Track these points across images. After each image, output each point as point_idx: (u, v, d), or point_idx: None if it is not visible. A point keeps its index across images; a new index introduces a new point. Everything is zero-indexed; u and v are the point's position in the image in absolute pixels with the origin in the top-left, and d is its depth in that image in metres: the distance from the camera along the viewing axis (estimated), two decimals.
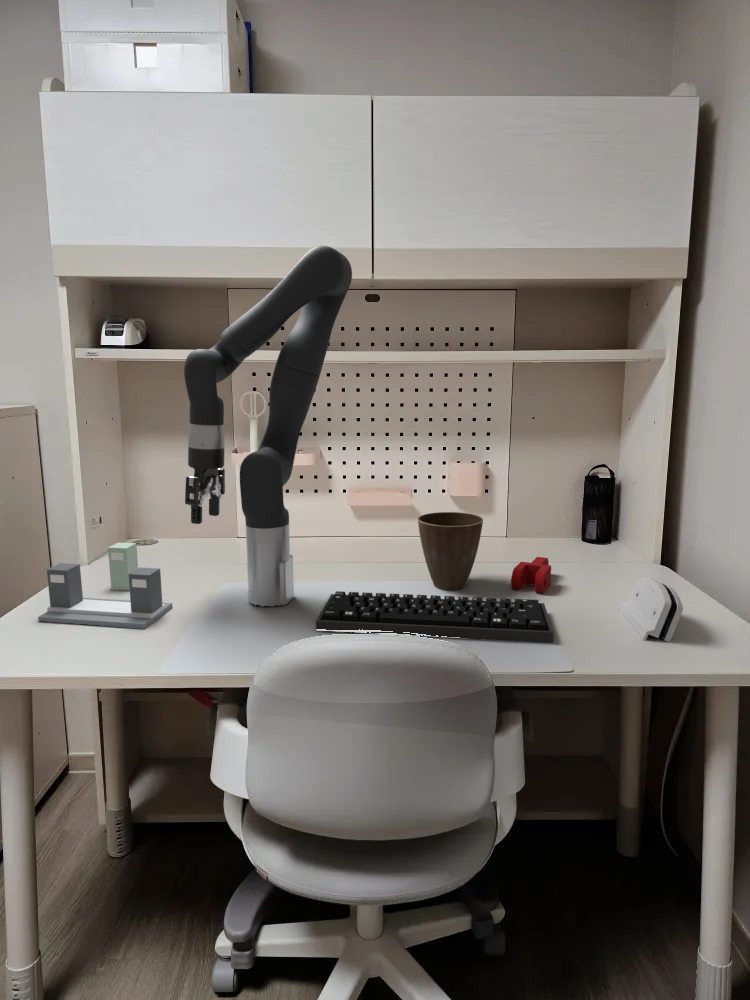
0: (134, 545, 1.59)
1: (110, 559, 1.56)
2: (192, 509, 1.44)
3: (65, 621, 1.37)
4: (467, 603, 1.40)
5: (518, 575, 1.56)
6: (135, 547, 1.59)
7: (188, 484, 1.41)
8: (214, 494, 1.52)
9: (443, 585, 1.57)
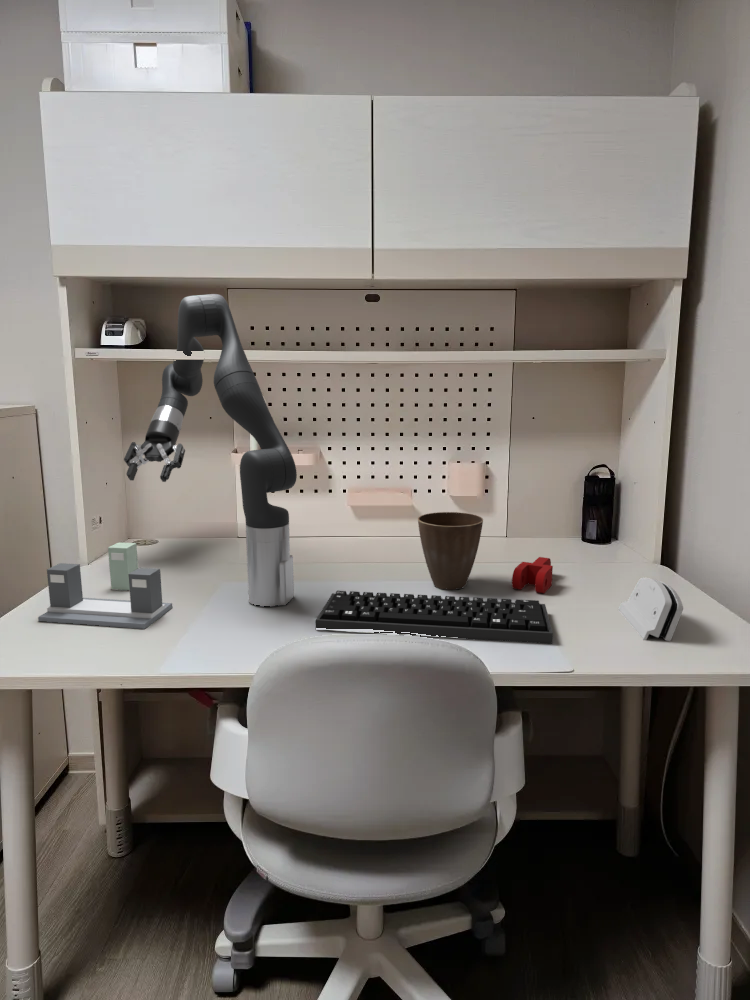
0: (134, 545, 1.59)
1: (110, 559, 1.56)
2: None
3: (65, 621, 1.37)
4: (467, 603, 1.39)
5: (519, 575, 1.56)
6: (135, 547, 1.59)
7: None
8: None
9: (443, 585, 1.57)
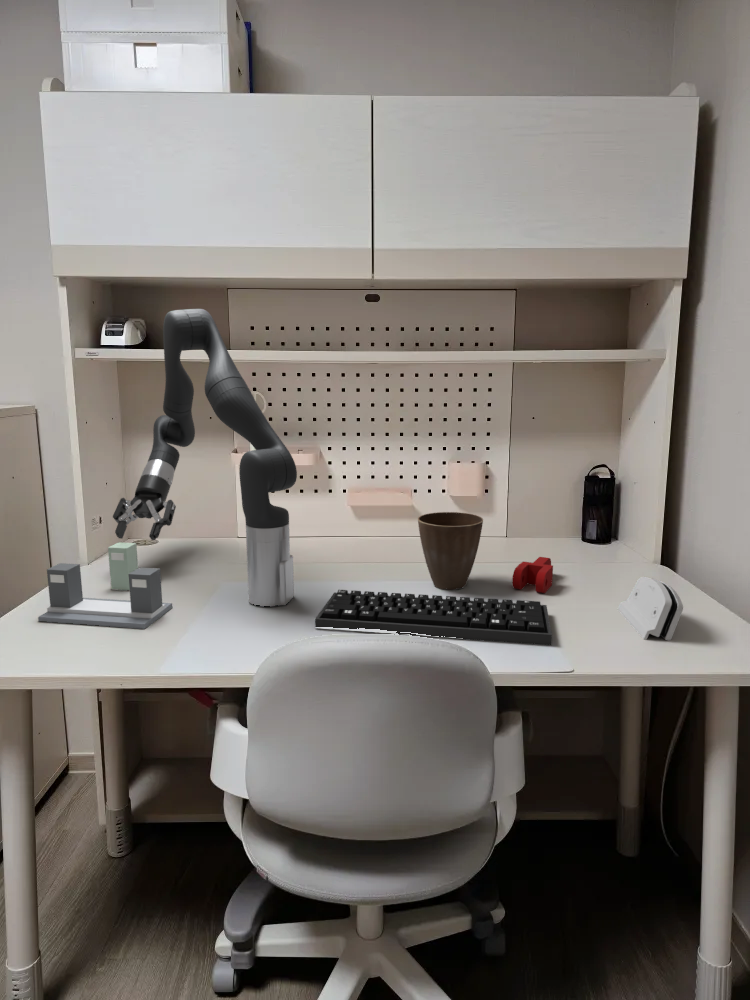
0: (134, 545, 1.59)
1: (110, 559, 1.56)
2: None
3: (65, 621, 1.37)
4: (468, 604, 1.39)
5: (519, 575, 1.56)
6: (135, 547, 1.59)
7: None
8: None
9: (443, 585, 1.57)
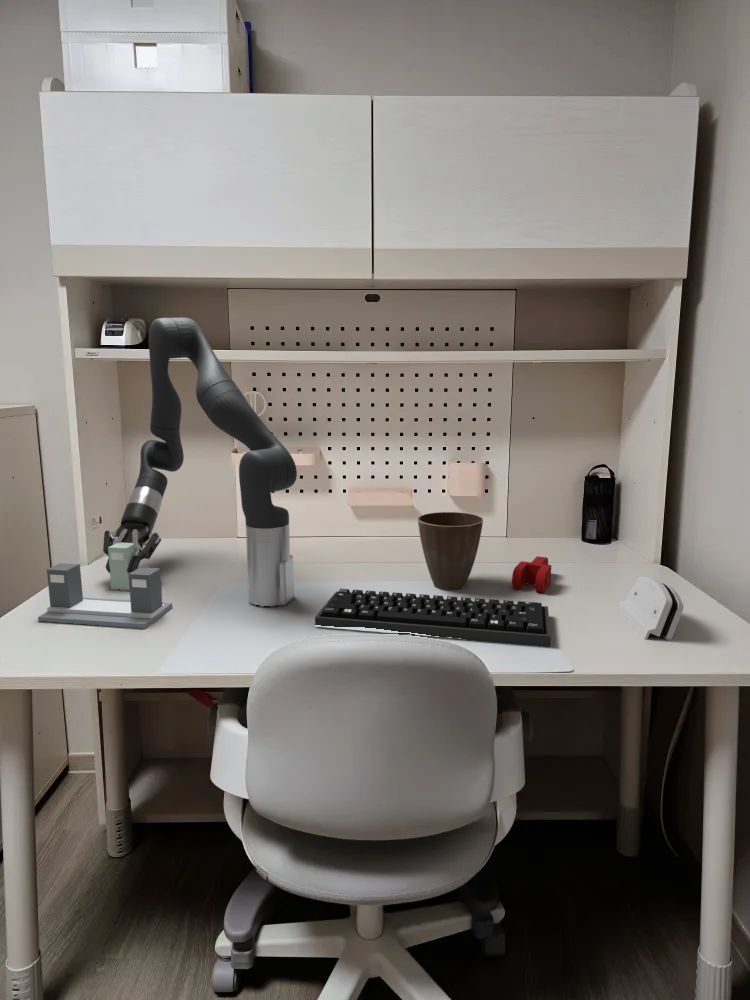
0: None
1: (110, 559, 1.56)
2: None
3: (65, 621, 1.37)
4: (468, 604, 1.39)
5: (519, 575, 1.56)
6: None
7: None
8: None
9: (443, 585, 1.57)
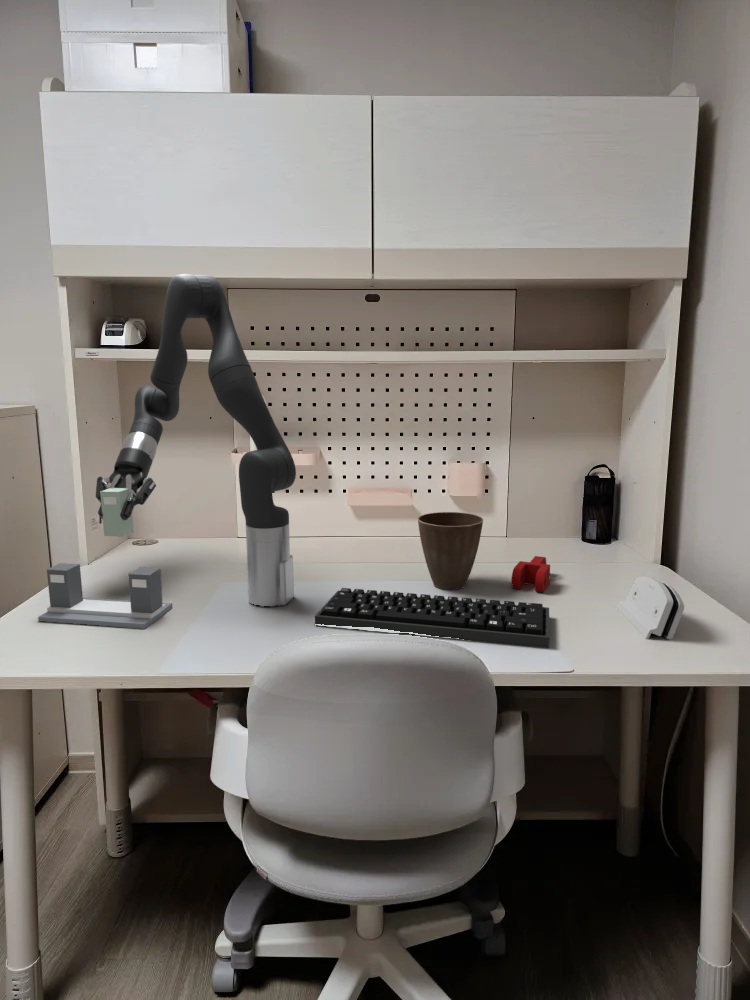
0: None
1: (103, 504, 1.50)
2: None
3: (65, 621, 1.37)
4: (468, 604, 1.39)
5: (518, 575, 1.56)
6: None
7: None
8: None
9: (443, 585, 1.57)
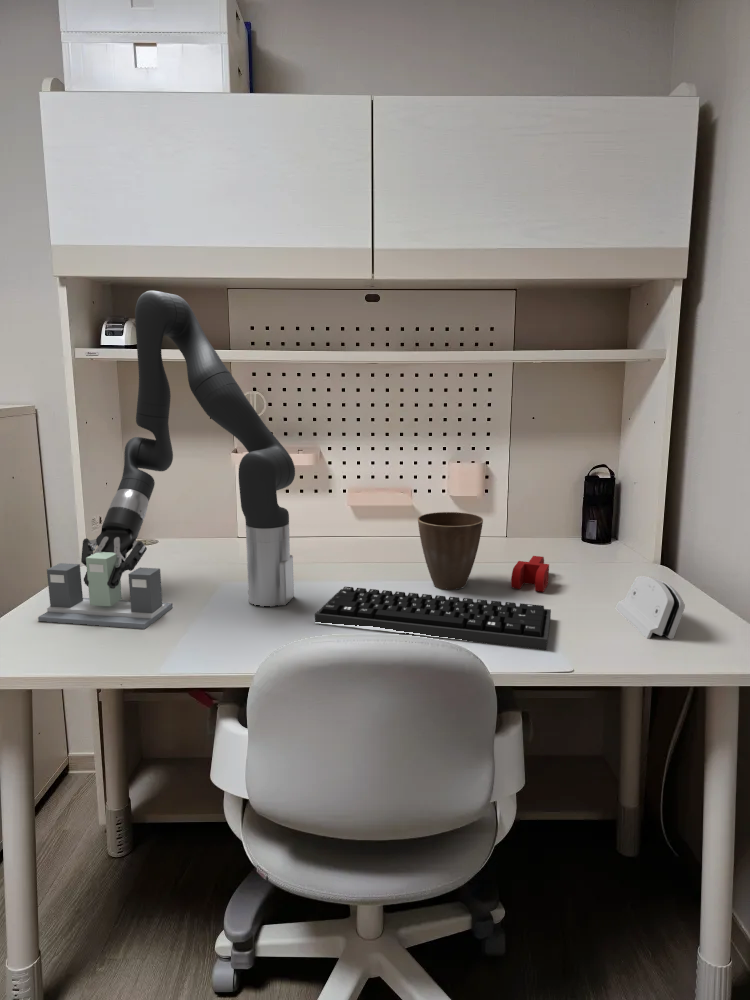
0: None
1: (88, 571, 1.38)
2: None
3: (65, 621, 1.37)
4: (469, 605, 1.39)
5: (518, 574, 1.56)
6: None
7: None
8: None
9: (443, 585, 1.57)
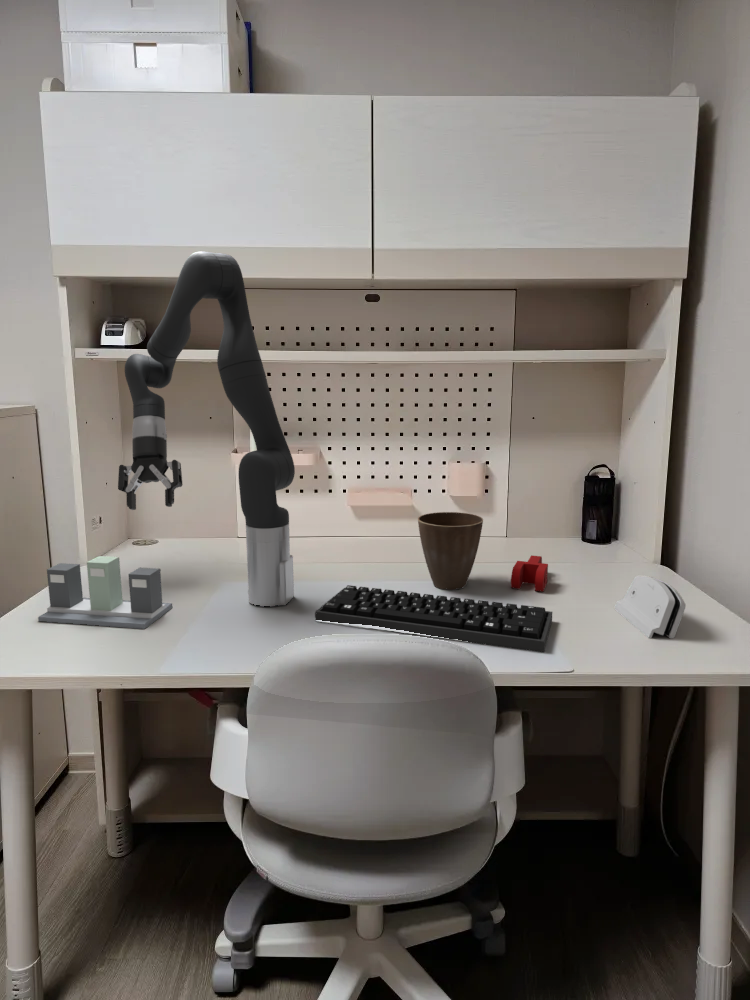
0: (117, 559, 1.41)
1: (89, 575, 1.39)
2: None
3: (65, 621, 1.37)
4: (469, 606, 1.38)
5: (518, 574, 1.56)
6: (118, 561, 1.41)
7: None
8: None
9: (443, 585, 1.57)
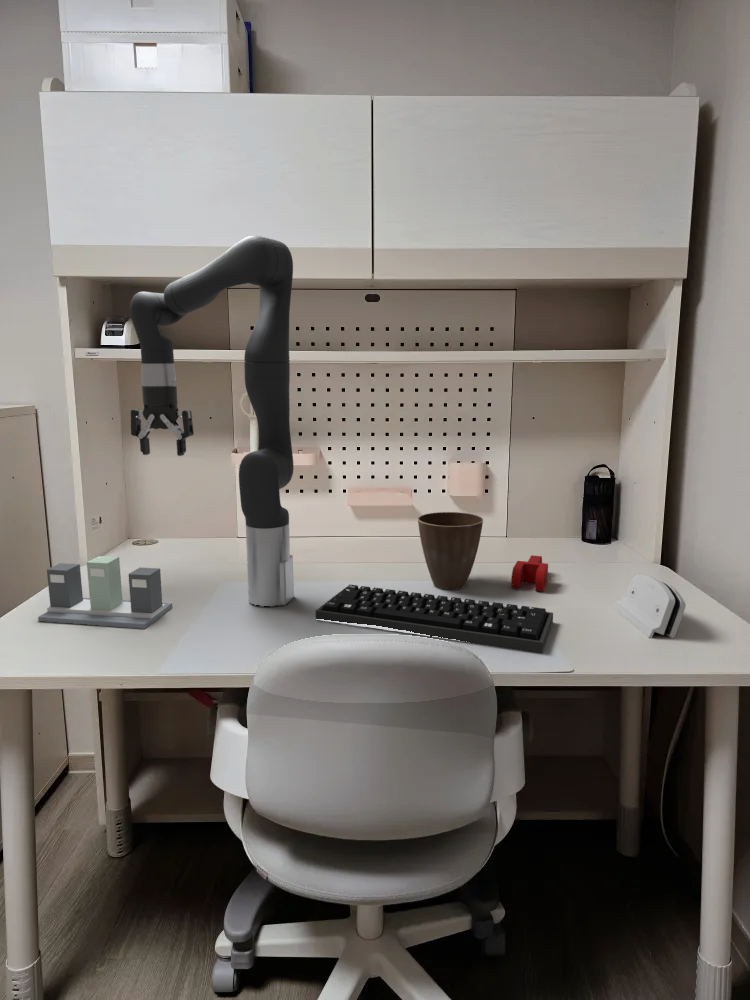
0: (117, 559, 1.41)
1: (89, 575, 1.39)
2: None
3: (65, 621, 1.37)
4: (469, 606, 1.38)
5: (518, 574, 1.57)
6: (118, 561, 1.41)
7: None
8: None
9: (443, 585, 1.57)
